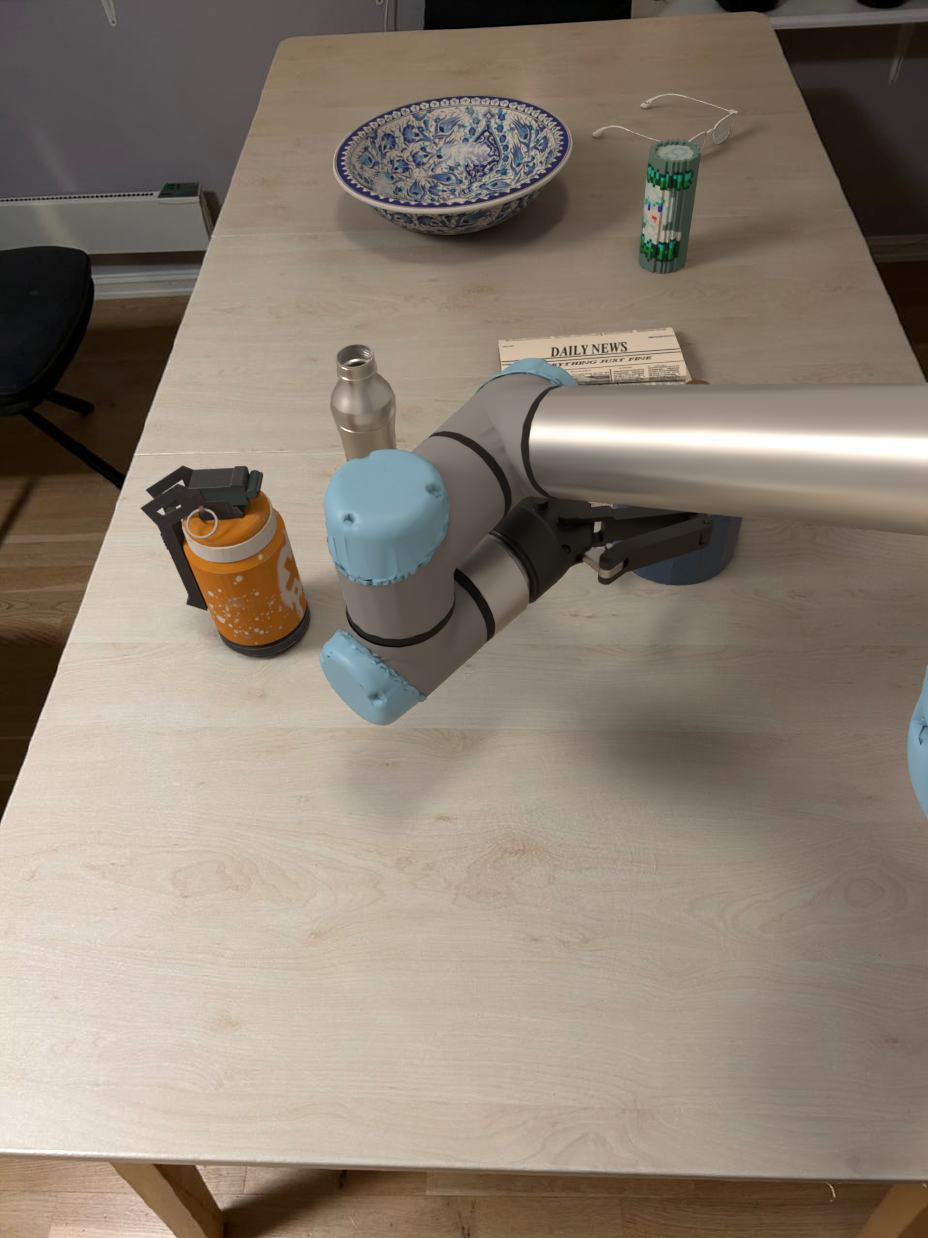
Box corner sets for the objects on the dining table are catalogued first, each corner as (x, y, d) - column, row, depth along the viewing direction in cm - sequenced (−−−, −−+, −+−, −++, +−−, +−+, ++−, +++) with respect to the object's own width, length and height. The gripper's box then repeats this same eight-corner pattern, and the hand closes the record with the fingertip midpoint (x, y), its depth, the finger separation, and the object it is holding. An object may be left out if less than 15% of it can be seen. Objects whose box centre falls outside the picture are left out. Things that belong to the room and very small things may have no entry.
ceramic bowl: (331, 173, 150) (321, 108, 142) (540, 144, 152) (541, 78, 144) (354, 290, 128) (343, 220, 120) (597, 254, 131) (601, 183, 123)
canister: (306, 658, 89) (259, 509, 74) (192, 663, 90) (121, 515, 74) (315, 587, 95) (272, 434, 79) (207, 592, 95) (144, 440, 80)
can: (630, 261, 129) (640, 151, 117) (659, 244, 131) (672, 134, 120) (664, 277, 126) (678, 166, 114) (693, 260, 128) (709, 149, 117)
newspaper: (504, 407, 111) (503, 389, 109) (498, 355, 119) (498, 337, 118) (695, 393, 110) (698, 375, 109) (676, 341, 119) (678, 323, 117)
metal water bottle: (345, 531, 99) (311, 377, 84) (358, 488, 104) (328, 332, 88) (404, 535, 99) (381, 380, 83) (415, 491, 103) (395, 335, 87)
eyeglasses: (680, 170, 144) (683, 144, 141) (588, 138, 152) (589, 113, 149) (735, 133, 151) (740, 107, 148) (644, 105, 159) (646, 79, 156)
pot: (773, 520, 97) (793, 450, 90) (670, 621, 90) (683, 555, 82) (673, 466, 103) (684, 397, 96) (569, 558, 95) (572, 490, 88)
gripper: (392, 526, 80) (553, 405, 89) (624, 686, 69) (782, 528, 78) (381, 460, 74) (555, 337, 83) (633, 622, 63) (803, 460, 72)
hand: (665, 429), depth 80 cm, fingers open, 13 cm apart
